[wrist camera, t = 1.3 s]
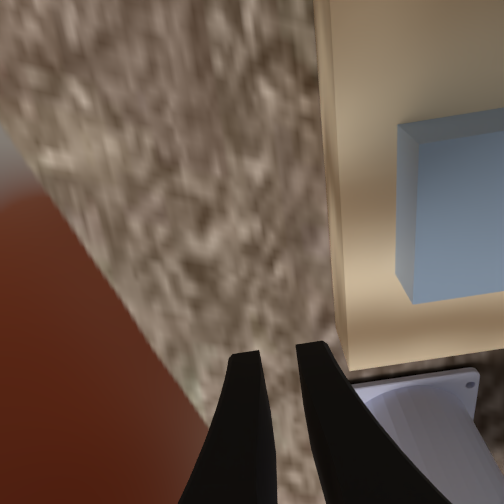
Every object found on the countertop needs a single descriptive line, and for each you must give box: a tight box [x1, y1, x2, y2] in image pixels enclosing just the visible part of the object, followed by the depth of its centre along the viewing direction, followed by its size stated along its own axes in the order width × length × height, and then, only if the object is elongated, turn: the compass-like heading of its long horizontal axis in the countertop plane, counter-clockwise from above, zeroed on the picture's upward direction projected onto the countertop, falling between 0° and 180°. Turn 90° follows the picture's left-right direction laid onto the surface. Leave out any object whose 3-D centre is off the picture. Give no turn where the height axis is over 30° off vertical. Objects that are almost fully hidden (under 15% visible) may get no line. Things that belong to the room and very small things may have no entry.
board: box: [313, 0, 504, 371], centre depth 18 cm, size 16×13×3 cm
